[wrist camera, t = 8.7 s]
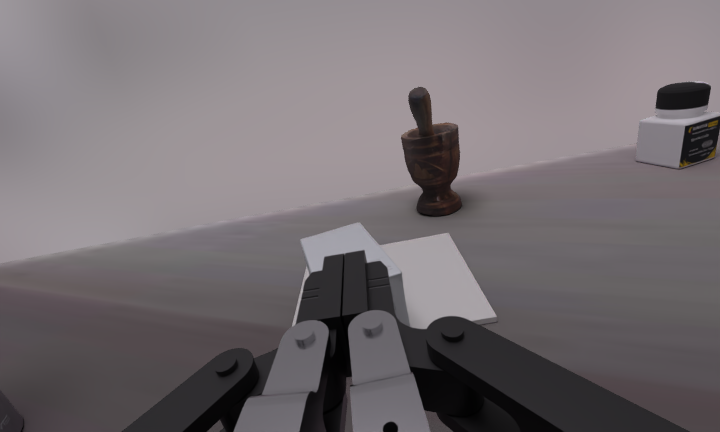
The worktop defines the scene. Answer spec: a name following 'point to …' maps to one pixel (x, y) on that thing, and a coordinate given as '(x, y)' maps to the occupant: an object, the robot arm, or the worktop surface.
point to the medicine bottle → (679, 127)
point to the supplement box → (351, 241)
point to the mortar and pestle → (432, 157)
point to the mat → (434, 282)
